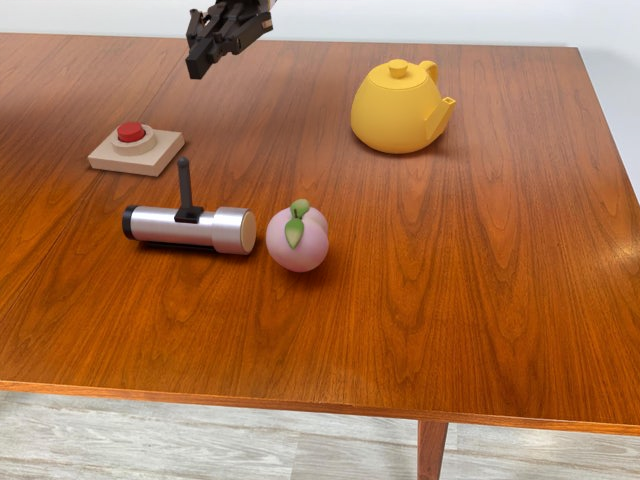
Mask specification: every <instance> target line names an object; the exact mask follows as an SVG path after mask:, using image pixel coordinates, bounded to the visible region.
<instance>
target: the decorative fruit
mask: <svg viewBox="0 0 640 480" xmlns="http://www.w3.org/2000/svg"><path fill="white" fill-rule="evenodd" d="M328 224H329V223H328V221H327V218H326V217H325V216H324V214H323V213H322V212H320V211H319V209H317V208H315V207H313V206H311V205H310V202H309V200H307V199H305V198H299V199H296V200H295V201H293V202H292V203H291V204H290V205H289V207H287V208H285V209H282V210H280V211H278V212H277V213H276V214H275V215H274V216H273V217H272V218H271V219H270V221H269V222H268V225H267V227H266V232H265V244H266V248H267V252H268V253H269V255H270V257H271V258H272V259H273V261H275V262H276V263H277V264H278V265H280V266H281V267H283V268H285V269H287V270H288V271H292V272H296V273H306V272H309V271H312V270H314V269H316V268H317V267H319V266H320V265H321V264H322V263H323V262H324V260H325V259H326V257H327V254H328V252H329V249H330V248H329V247H330V242H329V238H328V236H329V225H328Z"/></svg>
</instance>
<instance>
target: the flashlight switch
mask: <svg viewBox="0 0 640 480" xmlns="http://www.w3.org/2000/svg"><path fill="white" fill-rule="evenodd" d="M190 164H191V161H190V160H189V158H187V156H180V157H178V159H177V160H176V165H177V172H178V183H179V195H180V206H181V207H182V208H191V207H193V206H194V205H193V204H194V203H193V193H192V192H193V191H192V179H191V168H190V167H191V166H190Z"/></svg>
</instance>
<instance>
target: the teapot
mask: <svg viewBox="0 0 640 480" xmlns="http://www.w3.org/2000/svg"><path fill="white" fill-rule="evenodd" d="M438 79H439V66H438V65H437V64H436V63H435V62H434V61H432V60H423V61H421V62H420V63H419V64H415V63H412V62H409V61H407V60H404V59H401V58H396V59H395V58H394V59H391V60H389V61H388V62H385V63H381V64H379V65H377V66H375V67H373V69H371V70H370V71H369V72H368V74H367V75H366V76H365V78H364V79H363V80H362V82H361V84H360V86H359V88H358V89H357V91H356V93H355V95H354V98H353V101H352V105H351V109H350V127H351V129H352V132H353V133H354V135H355V136H356V137H357V138H358V139H359V140H360V141H361V142H363V143H364V144H365V145H367V146H368V147H369V148H371V149H373V150H375V151H378V152H382V153H387V154H396V155H397V154H399V155H400V154H410V153H415V152H417V151H420V150H423V149H424V148H426V147H428V146H429V145H431V144H432V143H433V142H434V141H435V140H437V138H438V137H440V135H441V134H443V133H444V131H445V129H446V127H447V125H448V123H449V120H450V118H451V116H452V113H453V111H454V109H455V106H456V105H457V101H456V100H455V99H453V98H451V97H449V96H446V97H444V98H443V97H442V94H441V92H440V90H439V88H438V86H437V85H438Z"/></svg>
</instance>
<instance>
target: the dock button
mask: <svg viewBox="0 0 640 480" xmlns="http://www.w3.org/2000/svg"><path fill="white" fill-rule="evenodd" d="M141 124H142V123H140V122H138V121H129V122H124V123H122V124H121V125H120V126H119V125H118V126H119V127H118V126H117V127H118V128H117V127H116V128H117V133H118V135H119V138H120V140H121V142H123V143H131V142H137V141H139V140H141V139H143V138H144V136H145V133H144V130H143V127H142V125H141Z"/></svg>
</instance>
